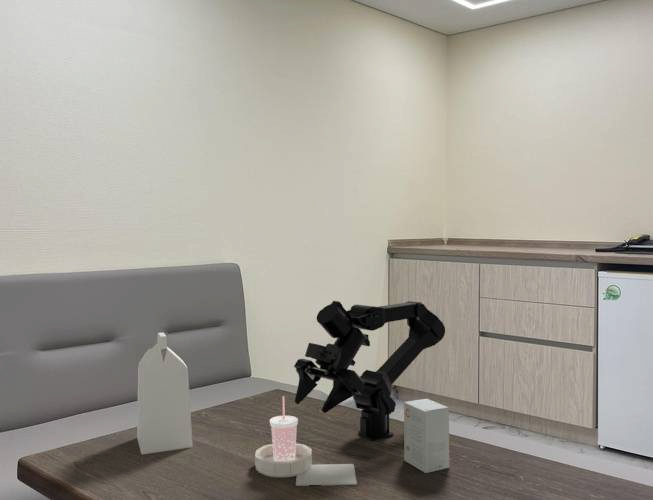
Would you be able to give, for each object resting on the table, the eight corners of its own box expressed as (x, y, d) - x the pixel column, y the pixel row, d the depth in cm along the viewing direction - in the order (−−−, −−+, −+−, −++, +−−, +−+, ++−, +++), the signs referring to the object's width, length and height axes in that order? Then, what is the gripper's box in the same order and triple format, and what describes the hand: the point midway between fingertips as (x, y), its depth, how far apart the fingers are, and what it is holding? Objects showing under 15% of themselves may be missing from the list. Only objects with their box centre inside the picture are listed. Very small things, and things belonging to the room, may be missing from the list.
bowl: (294, 452, 138) (294, 438, 138) (322, 469, 128) (322, 455, 128) (246, 463, 132) (246, 449, 132) (271, 482, 122) (271, 467, 122)
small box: (450, 468, 128) (449, 407, 128) (425, 474, 125) (424, 411, 125) (427, 455, 135) (427, 397, 135) (403, 460, 133) (403, 401, 132)
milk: (192, 447, 142) (190, 336, 141) (141, 454, 138) (139, 340, 137) (184, 431, 153) (182, 329, 153) (137, 437, 149) (134, 332, 148)
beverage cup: (304, 461, 130) (303, 396, 129) (281, 469, 126) (280, 402, 125) (287, 453, 135) (286, 391, 134) (264, 461, 130) (263, 396, 130)
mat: (353, 465, 130) (353, 463, 130) (356, 484, 120) (356, 483, 120) (297, 466, 130) (297, 464, 130) (295, 485, 120) (295, 484, 120)
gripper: (299, 324, 144) (262, 379, 137) (354, 334, 130) (316, 395, 124) (324, 352, 150) (290, 406, 143) (380, 364, 136) (345, 424, 129)
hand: (309, 407), depth 135 cm, fingers open, 9 cm apart
